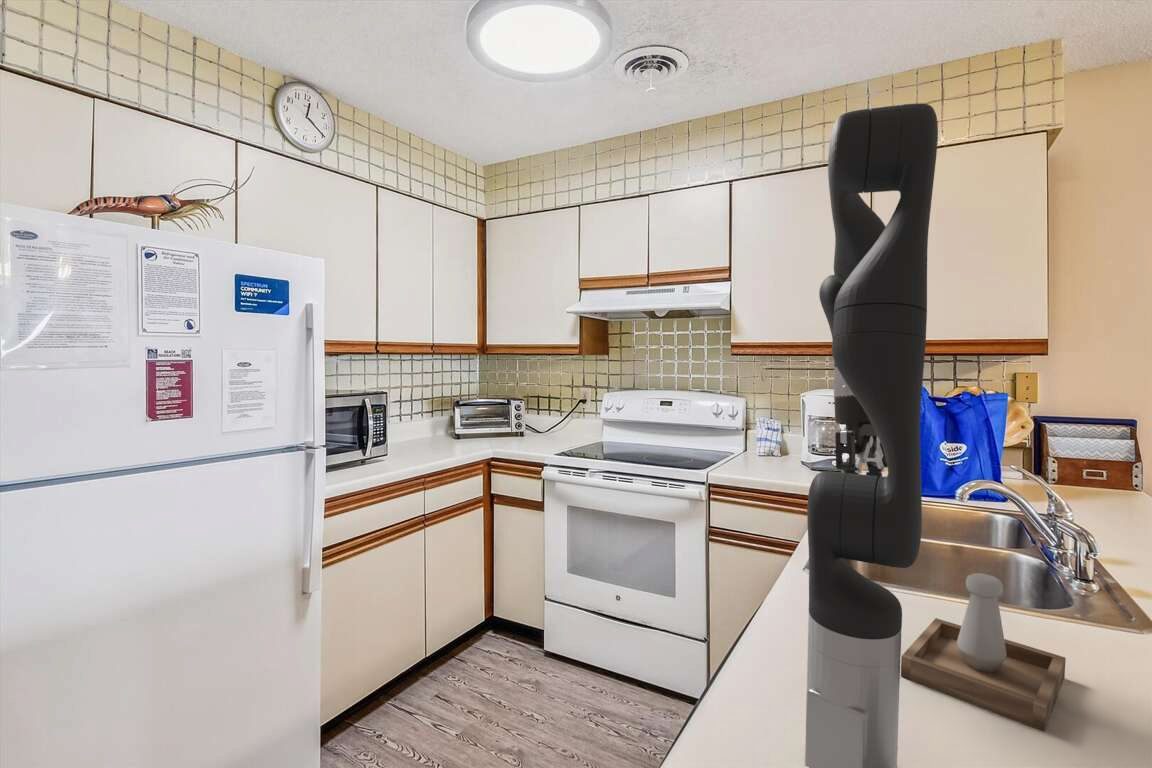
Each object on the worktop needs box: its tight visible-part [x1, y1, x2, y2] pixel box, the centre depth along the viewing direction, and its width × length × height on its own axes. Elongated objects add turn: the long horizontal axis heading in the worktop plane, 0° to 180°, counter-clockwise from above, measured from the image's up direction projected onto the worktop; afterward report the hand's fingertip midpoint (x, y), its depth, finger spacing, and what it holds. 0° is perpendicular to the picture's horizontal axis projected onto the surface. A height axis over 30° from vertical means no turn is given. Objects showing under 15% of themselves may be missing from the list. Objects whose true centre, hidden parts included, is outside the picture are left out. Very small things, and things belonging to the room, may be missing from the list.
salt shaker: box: [957, 572, 1007, 673], centre depth 82 cm, size 6×6×13 cm
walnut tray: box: [900, 617, 1066, 732], centre depth 81 cm, size 16×16×3 cm
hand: (864, 497), depth 90 cm, fingers open, 8 cm apart
